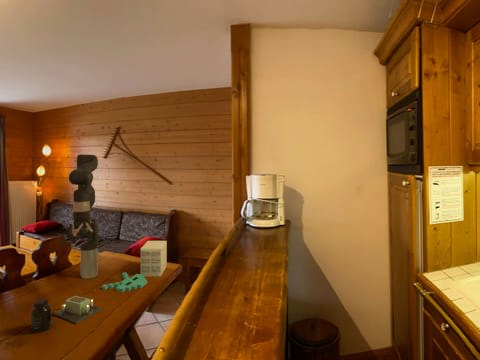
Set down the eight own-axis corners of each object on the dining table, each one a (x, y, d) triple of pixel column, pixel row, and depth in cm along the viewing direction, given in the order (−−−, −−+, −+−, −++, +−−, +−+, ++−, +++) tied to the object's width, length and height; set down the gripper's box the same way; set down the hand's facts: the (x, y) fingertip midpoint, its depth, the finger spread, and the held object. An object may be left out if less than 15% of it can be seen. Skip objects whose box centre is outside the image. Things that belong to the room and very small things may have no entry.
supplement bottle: (38, 323, 116) (37, 297, 116) (54, 323, 117) (54, 296, 116) (27, 333, 110) (26, 305, 109) (44, 333, 110) (44, 305, 109)
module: (65, 311, 125) (65, 299, 124) (75, 305, 129) (75, 295, 129) (80, 314, 122) (80, 303, 121) (89, 309, 127) (89, 298, 126)
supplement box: (147, 266, 184) (147, 240, 183) (166, 266, 185) (167, 240, 184) (139, 276, 167) (139, 248, 166) (161, 276, 168) (161, 248, 167)
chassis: (53, 314, 123) (53, 303, 123) (78, 302, 134) (78, 292, 134) (76, 323, 117) (76, 312, 117) (100, 310, 128) (100, 300, 127)
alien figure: (101, 290, 149) (134, 294, 145) (101, 286, 149) (134, 290, 145) (123, 275, 169) (152, 279, 165) (123, 272, 169) (152, 275, 165)
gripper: (89, 207, 145) (89, 236, 146) (62, 211, 132) (63, 243, 133) (99, 208, 142) (99, 238, 143) (72, 212, 129) (73, 245, 130)
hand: (81, 241), depth 138 cm, fingers open, 8 cm apart
